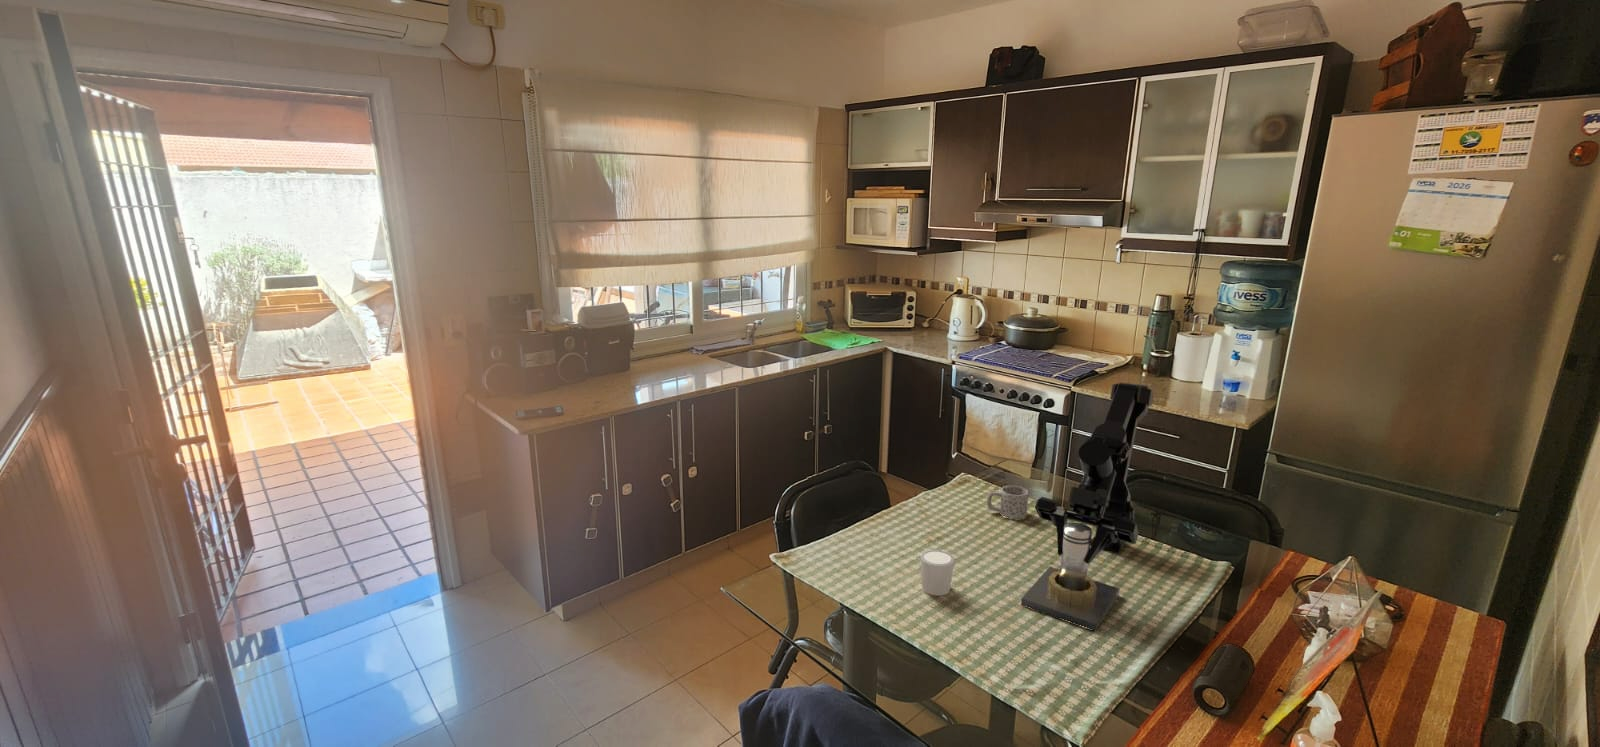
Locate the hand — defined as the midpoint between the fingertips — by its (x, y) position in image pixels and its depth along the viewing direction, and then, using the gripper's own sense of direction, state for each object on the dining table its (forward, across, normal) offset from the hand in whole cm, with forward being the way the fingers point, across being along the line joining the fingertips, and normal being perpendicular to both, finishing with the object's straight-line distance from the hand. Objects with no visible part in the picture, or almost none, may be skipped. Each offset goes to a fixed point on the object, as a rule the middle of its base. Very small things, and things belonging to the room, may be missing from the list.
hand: (1073, 558), depth 131 cm
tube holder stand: (+6, 0, +8) cm, 10 cm away
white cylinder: (+15, -23, -1) cm, 28 cm away
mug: (-16, -26, +30) cm, 43 cm away
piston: (+4, 0, +6) cm, 7 cm away
